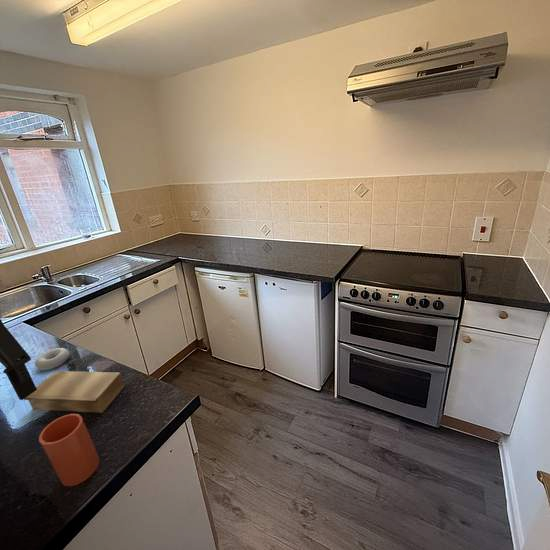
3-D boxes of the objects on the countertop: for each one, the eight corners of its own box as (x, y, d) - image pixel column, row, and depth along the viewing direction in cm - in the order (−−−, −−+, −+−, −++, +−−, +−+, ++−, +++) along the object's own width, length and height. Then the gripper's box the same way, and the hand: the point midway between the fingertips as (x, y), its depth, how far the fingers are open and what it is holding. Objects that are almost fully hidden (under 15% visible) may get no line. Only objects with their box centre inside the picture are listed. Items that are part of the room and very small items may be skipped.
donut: (77, 354, 107) (54, 353, 109) (74, 346, 106) (51, 345, 108) (54, 373, 98) (29, 371, 100) (50, 364, 97) (25, 363, 99)
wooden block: (30, 411, 83) (22, 397, 81) (61, 384, 93) (55, 370, 91) (100, 415, 79) (94, 400, 77) (125, 386, 89) (120, 372, 87)
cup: (51, 484, 62) (29, 443, 58) (78, 452, 69) (60, 412, 65) (83, 487, 61) (62, 445, 57) (107, 454, 68) (90, 414, 63)
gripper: (24, 283, 49) (68, 385, 57) (-62, 278, 57) (-13, 367, 65) (-31, 304, 43) (27, 415, 50) (-120, 294, 51) (-57, 392, 59)
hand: (5, 388), depth 58 cm, fingers open, 13 cm apart
